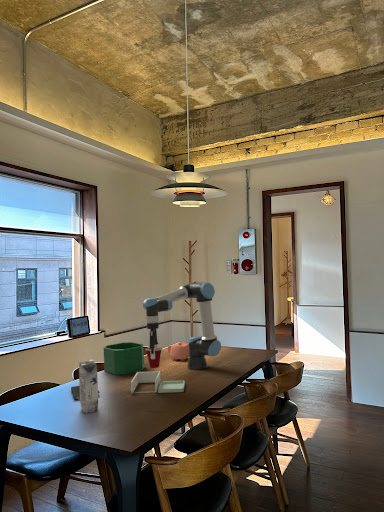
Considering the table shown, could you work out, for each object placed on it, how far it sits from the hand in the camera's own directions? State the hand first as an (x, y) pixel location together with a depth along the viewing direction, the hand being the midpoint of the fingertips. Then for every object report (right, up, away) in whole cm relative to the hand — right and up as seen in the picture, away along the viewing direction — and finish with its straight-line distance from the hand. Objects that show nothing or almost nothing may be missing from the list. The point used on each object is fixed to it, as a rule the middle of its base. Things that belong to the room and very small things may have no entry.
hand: (154, 356), depth 254 cm
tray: (+11, -19, -3) cm, 22 cm away
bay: (-5, -20, 0) cm, 20 cm away
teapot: (+15, -22, +75) cm, 79 cm away
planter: (-28, -23, +50) cm, 61 cm away
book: (-43, -22, -6) cm, 48 cm away
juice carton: (-32, -20, -37) cm, 53 cm away
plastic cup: (0, -7, 0) cm, 7 cm away
